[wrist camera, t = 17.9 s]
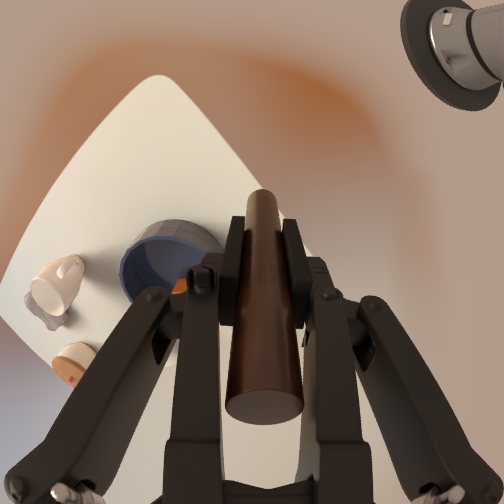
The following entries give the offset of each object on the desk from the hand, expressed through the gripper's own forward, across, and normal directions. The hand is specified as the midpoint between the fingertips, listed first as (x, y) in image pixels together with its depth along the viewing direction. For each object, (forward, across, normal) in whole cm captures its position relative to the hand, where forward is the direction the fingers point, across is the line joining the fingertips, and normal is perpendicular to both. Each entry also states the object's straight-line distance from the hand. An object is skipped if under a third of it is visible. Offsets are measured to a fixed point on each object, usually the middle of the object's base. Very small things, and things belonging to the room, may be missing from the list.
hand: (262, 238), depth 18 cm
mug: (+25, -34, -18) cm, 46 cm away
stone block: (+25, -48, -31) cm, 62 cm away
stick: (+6, 0, 0) cm, 6 cm away
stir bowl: (+24, -13, -18) cm, 33 cm away
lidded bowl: (+25, -43, -47) cm, 68 cm away
